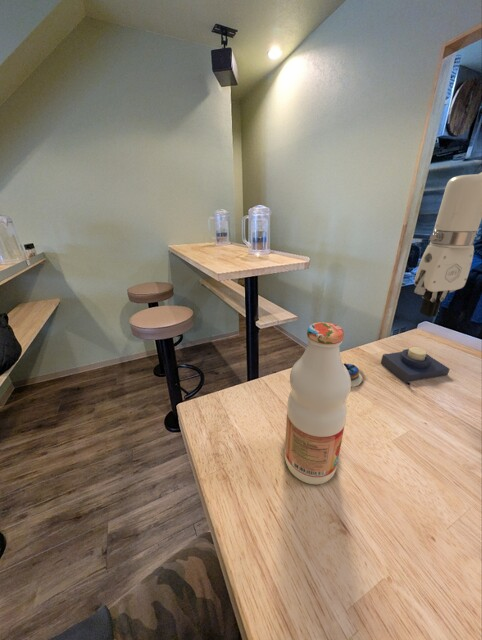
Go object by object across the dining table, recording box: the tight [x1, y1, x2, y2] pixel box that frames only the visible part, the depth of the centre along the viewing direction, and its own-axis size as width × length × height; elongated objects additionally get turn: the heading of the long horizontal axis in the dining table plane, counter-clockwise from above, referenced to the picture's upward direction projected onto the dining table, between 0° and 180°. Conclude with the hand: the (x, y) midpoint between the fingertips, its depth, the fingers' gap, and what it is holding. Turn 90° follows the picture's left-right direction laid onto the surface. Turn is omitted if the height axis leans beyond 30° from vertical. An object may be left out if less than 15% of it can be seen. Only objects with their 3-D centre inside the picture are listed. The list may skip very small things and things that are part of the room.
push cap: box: [408, 346, 428, 361], centre depth 68 cm, size 4×4×2 cm
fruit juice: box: [284, 321, 352, 485], centre depth 41 cm, size 9×9×28 cm
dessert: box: [343, 362, 363, 388], centre depth 68 cm, size 8×7×6 cm
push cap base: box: [380, 348, 451, 386], centre depth 69 cm, size 12×10×5 cm
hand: (427, 314), depth 63 cm, fingers closed
